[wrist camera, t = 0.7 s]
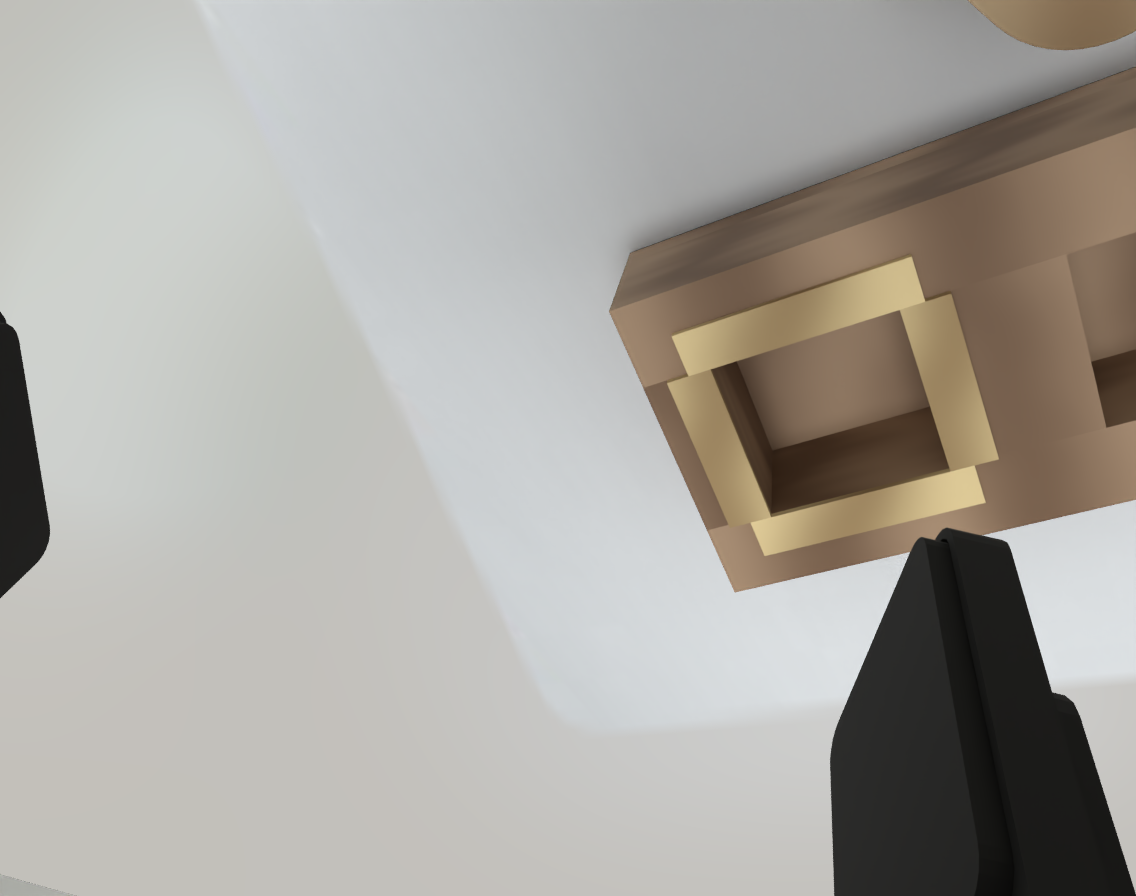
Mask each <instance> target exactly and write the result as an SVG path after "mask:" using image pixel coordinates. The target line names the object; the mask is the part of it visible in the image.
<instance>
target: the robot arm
mask: <svg viewBox="0 0 1136 896" xmlns="http://www.w3.org/2000/svg"><path fill="white" fill-rule="evenodd" d="M49 536H50V525H49V520H48V513H47V508H46V501H45V495H44V489H43V483H42V478H41V471H40V465H39V459H38V453H37V447H36V441H35V435H34V428H33V423H32V416H31V410H30V404H29V399H28V392H27V387H26V380H25V374H24V368H23V362H22V356H21V350H20V343H19V339H18V336H17V333H16V331H15V330H14V328H13V327H11V326H10V325H8V324H7V323H6V320H5V318H4V316H3V315H2V314H1V312H0V598H1V597H2V596H3V595H4V594H5V593H6V592H7V591H8V590H9V589H10V588H11V587H12V586H13V585H15V583H17V582H18V581H19V580H20V579H21V578H22V577H23V576H24V575H25V574H26V573H27V572H28V571H29V570H30V569H31V568H32V567H33V566H34V565H35V564H36V563H37V562H38V561H39V560H40V558H41V557H42V555H43V554H44V552H45V550H46V547H47V544H48V542H49ZM830 771H831V801H832V834H833V862H834V863H833V865H834V896H1136V894H1135V890H1134V887H1133V884H1132V881H1131V878H1130V874H1129V871H1128V868H1127V865H1126V862H1125V859H1124V855H1123V852H1122V849H1121V846H1120V842H1119V839H1118V836H1117V833H1116V830H1115V827H1114V823H1113V821H1112V817H1111V814H1110V811H1109V808H1108V804H1107V801H1106V798H1105V795H1104V792H1103V788H1102V785H1101V782H1100V779H1099V775H1098V772H1097V769H1096V766H1095V763H1094V760H1093V756H1092V753H1091V750H1090V747H1089V744H1088V740H1087V737H1086V734H1085V731H1084V728H1083V724H1082V721H1081V718H1080V715H1079V713H1078V711H1077V709H1076V707H1075V705H1074V703H1073V702H1072V701H1071V700H1070V699H1068V698H1067V697H1066V696H1065V695H1061V694H1056V693H1052V691H1051V687H1050V684H1049V680H1048V677H1047V673H1046V670H1045V666H1044V663H1043V659H1042V656H1041V653H1040V649H1039V646H1038V642H1037V639H1036V635H1035V632H1034V628H1033V625H1032V622H1031V618H1030V615H1029V611H1028V608H1027V604H1026V601H1025V597H1024V594H1023V590H1022V587H1021V584H1020V580H1019V577H1018V573H1017V570H1016V566H1015V563H1014V559H1013V556H1012V553H1011V549H1010V547H1009V545H1008V543H1007V542H1005V541H1003V540H999V539H995V538H991V537H986V536H982V535H978V534H973V533H969V532H965V531H960V530H956V529H952V528H944V529H942V530H941V532H940V533H939V534H938V535H937V537H936V539H935V540H933V539H929V538H924V537H920V538H918V539H917V541H916V542H915V543H914V545H913V547H912V549H911V552H910V554H909V556H908V559H907V561H906V564H905V566H904V568H903V571H902V573H901V575H900V578H899V580H898V582H897V585H896V587H895V590H894V592H893V594H892V597H891V599H890V601H889V604H888V606H887V608H886V611H885V613H884V615H883V618H882V620H881V623H880V625H879V627H878V630H877V632H876V634H875V637H874V639H873V641H872V644H871V646H870V649H869V651H868V653H867V656H866V658H865V660H864V663H863V665H862V667H861V670H860V672H859V675H858V677H857V679H856V682H855V684H854V686H853V689H852V691H851V693H850V696H849V698H848V700H847V703H846V705H845V708H844V710H843V712H842V715H841V717H840V719H839V722H838V724H837V727H836V730H835V734H834V737H833V742H832V748H831V757H830ZM0 896H75V895H71V894H68V893H65V892H61V891H58V890H54V889H50V888H47V887H43V886H40V885H36V884H33V883H29V882H25V881H22V880H18V879H15V878H11V877H8V876H4V875H1V874H0Z"/></svg>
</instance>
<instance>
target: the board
mask: <svg viewBox="0 0 1136 896" xmlns="http://www.w3.org/2000/svg"><path fill="white" fill-rule="evenodd" d="M609 312H610V315H611V317H612V319H613V321H614V324H615V326H616V328H617V330H618V332H619V335H620V337H621V339H622V341H623V344H624V346H625V348H626V350H627V353H628V355H629V357H630V359H631V361H632V364H633V366H634V368H635V370H636V373H637V375H638V377H639V379H640V382H641V384H642V386H643V388H644V391H645V393H646V395H647V397H648V399H649V402H650V404H651V406H652V408H653V411H654V413H655V415H656V417H657V420H658V422H659V424H660V426H661V429H662V431H663V433H664V435H665V437H666V440H667V442H668V444H669V446H670V449H671V451H672V453H673V455H674V458H675V460H676V462H677V464H678V466H679V469H680V471H681V473H682V475H683V478H684V480H685V482H686V484H687V487H688V489H689V491H690V493H691V496H692V498H693V500H694V502H695V504H696V507H697V509H698V511H699V513H700V516H701V518H702V520H703V522H704V525H705V527H706V529H707V531H708V533H709V536H710V538H711V540H712V542H713V545H714V547H715V549H716V551H717V554H718V556H719V558H720V560H721V563H722V565H723V567H724V569H725V571H726V574H727V576H728V578H729V580H730V583H731V585H732V587H733V589H734V592H739V591H743V590H747V589H752V588H756V587H760V586H765V585H769V584H773V583H778V582H782V581H786V580H791V579H795V578H799V577H804V576H808V575H812V574H817V573H821V572H825V571H830V570H834V569H838V568H842V567H847V566H851V565H855V564H860V563H864V562H868V561H873V560H877V559H881V558H886V557H890V556H894V555H899V554H903V553H907V552H911V549H912V547H913V545H914V543H915V542H916V541H917V539H918V538H920V537H924V538H929V539H933V540H935V539H936V537H937V535H938V534H939V533H940V532H941V530H942V529H944V528H952V529H956V530H960V531H965V532H969V533H973V534H978V535H985V534H989V533H994V532H998V531H1002V530H1007V529H1011V528H1015V527H1020V526H1024V525H1028V524H1033V523H1037V522H1041V521H1045V520H1050V519H1054V518H1058V517H1063V516H1067V515H1071V514H1076V513H1080V512H1084V511H1089V510H1093V509H1097V508H1102V507H1106V506H1110V505H1115V504H1119V503H1123V502H1128V501H1132V500H1136V67H1134V68H1131V69H1128V70H1126V71H1123V72H1120V73H1118V74H1115V75H1112V76H1109V77H1107V78H1104V79H1101V80H1099V81H1096V82H1093V83H1090V84H1088V85H1085V86H1082V87H1080V88H1077V89H1074V90H1071V91H1069V92H1066V93H1063V94H1061V95H1058V96H1055V97H1052V98H1050V99H1047V100H1044V101H1042V102H1039V103H1036V104H1033V105H1031V106H1028V107H1025V108H1023V109H1020V110H1017V111H1014V112H1012V113H1009V114H1006V115H1004V116H1001V117H998V118H995V119H993V120H990V121H987V122H985V123H982V124H979V125H976V126H974V127H971V128H968V129H966V130H963V131H960V132H957V133H955V134H952V135H949V136H947V137H944V138H941V139H938V140H936V141H933V142H930V143H928V144H925V145H922V146H919V147H917V148H914V149H911V150H909V151H906V152H903V153H900V154H898V155H895V156H892V157H890V158H887V159H884V160H881V161H879V162H876V163H873V164H871V165H868V166H865V167H862V168H860V169H857V170H854V171H852V172H849V173H846V174H843V175H841V176H838V177H835V178H833V179H830V180H827V181H824V182H822V183H819V184H816V185H814V186H811V187H808V188H805V189H803V190H800V191H797V192H795V193H792V194H789V195H786V196H784V197H781V198H778V199H776V200H773V201H770V202H767V203H765V204H762V205H759V206H757V207H754V208H751V209H748V210H746V211H743V212H740V213H738V214H735V215H732V216H729V217H727V218H724V219H721V220H719V221H716V222H713V223H710V224H708V225H705V226H702V227H700V228H697V229H694V230H691V231H689V232H686V233H683V234H681V235H678V236H675V237H672V238H670V239H667V240H664V241H662V242H659V243H656V244H653V245H651V246H648V247H645V248H643V249H640V250H637V251H634V252H632V253H630V255H629V258H628V261H627V263H626V266H625V269H624V272H623V274H622V277H621V280H620V283H619V285H618V288H617V291H616V294H615V296H614V299H613V302H612V305H611V308H610V310H609Z"/></svg>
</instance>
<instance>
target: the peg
mask: <svg viewBox="0 0 1136 896" xmlns="http://www.w3.org/2000/svg"><path fill="white" fill-rule="evenodd" d="M968 1H969V2H970V3H971V4H972V5H973V6H974V7H976V8H977V9H978V10H979V11H980V12H981V13H982V14H983V15H984V16H986V17H987V18H988V19H989V20H990V21H991V22H992V23H993V24H994V25H996V26H997V27H998V28H1000V29H1001V30H1002V31H1004V32H1005V33H1006V34H1008V35H1010V36H1012V37H1013V38H1015V39H1017V40H1019V41H1021V42H1024V43H1027V44H1030V45H1032V46H1036V47H1041V48H1046V49H1055V50H1075V49H1084V48H1090V47H1095V46H1099V45H1102V44H1106V43H1109V42H1112V41H1115V40H1117V39H1120V38H1122V37H1124V36H1126V35H1129V34H1131V33H1133V32H1134V31H1136V0H968Z"/></svg>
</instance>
